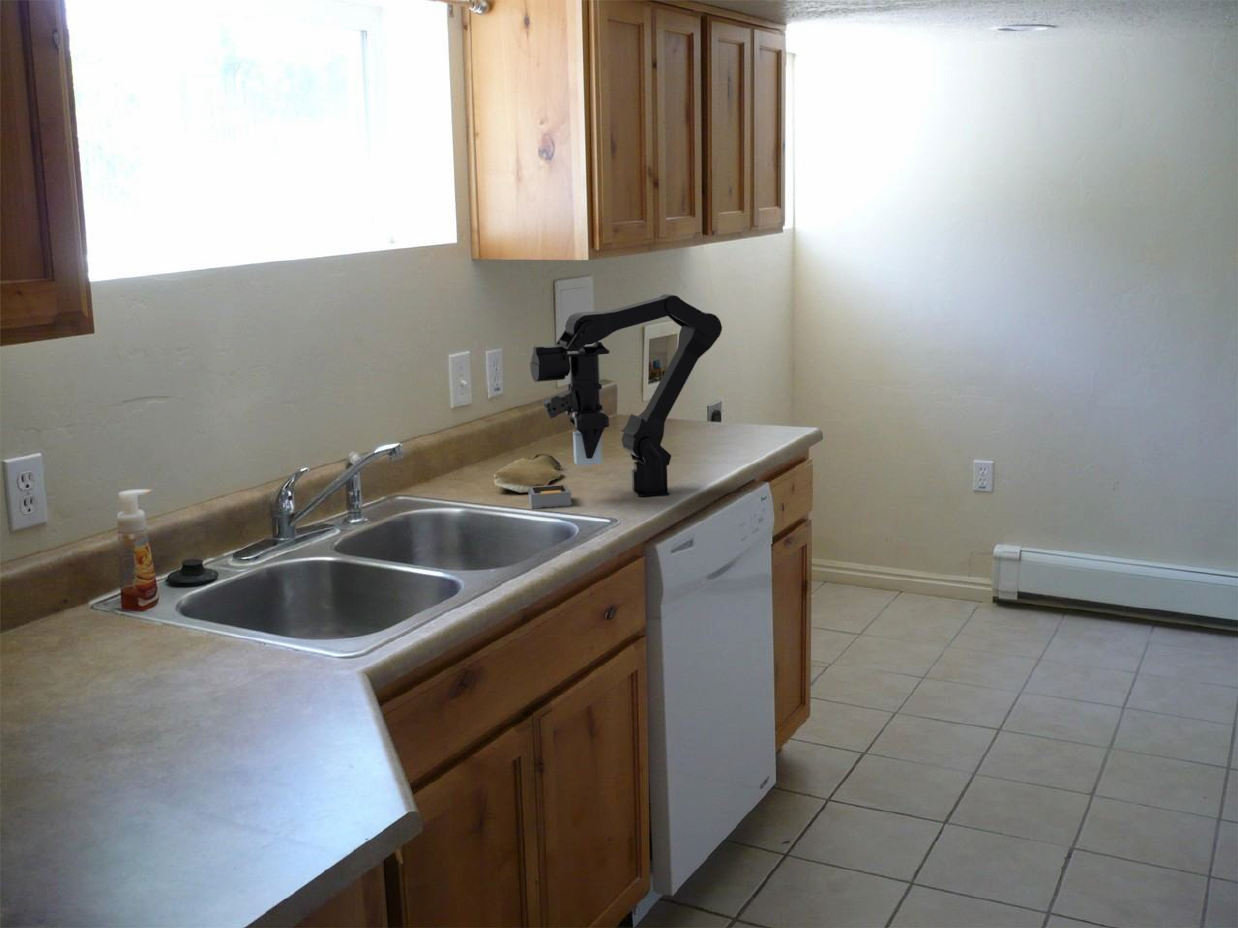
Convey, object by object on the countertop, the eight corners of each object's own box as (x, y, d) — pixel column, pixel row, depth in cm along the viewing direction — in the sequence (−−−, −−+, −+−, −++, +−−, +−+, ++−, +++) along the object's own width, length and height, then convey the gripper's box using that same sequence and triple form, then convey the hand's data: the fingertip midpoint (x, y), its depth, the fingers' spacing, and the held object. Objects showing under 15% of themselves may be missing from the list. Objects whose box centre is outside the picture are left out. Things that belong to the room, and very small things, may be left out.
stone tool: (524, 465, 274) (483, 493, 251) (525, 448, 273) (484, 474, 250) (573, 473, 272) (536, 502, 248) (574, 456, 271) (538, 483, 247)
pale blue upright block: (598, 459, 244) (597, 430, 242) (601, 463, 240) (600, 433, 239) (574, 461, 243) (572, 431, 242) (576, 465, 239) (575, 435, 238)
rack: (567, 497, 246) (566, 482, 245) (571, 505, 239) (570, 490, 238) (528, 500, 245) (527, 485, 244) (531, 508, 238) (531, 493, 237)
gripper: (539, 373, 246) (542, 449, 249) (549, 387, 228) (552, 468, 231) (593, 371, 247) (596, 446, 251) (608, 384, 229) (610, 465, 233)
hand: (587, 456), depth 241 cm, fingers closed on pale blue upright block, 4 cm apart
